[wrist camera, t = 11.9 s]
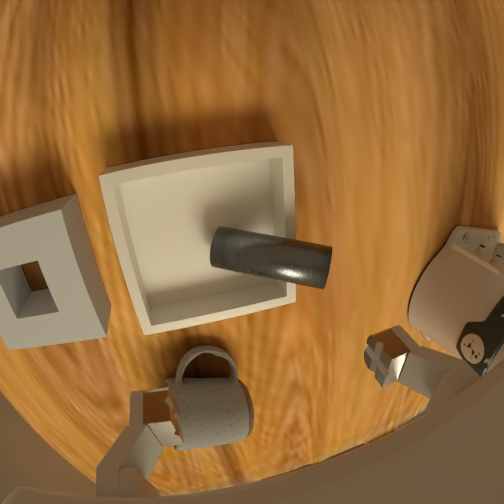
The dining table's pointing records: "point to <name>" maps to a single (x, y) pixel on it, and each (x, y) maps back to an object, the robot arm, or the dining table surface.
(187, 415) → the ceramic mug
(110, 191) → the tray
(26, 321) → the grey square socket block
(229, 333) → the dining table surface
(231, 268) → the pin
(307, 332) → the dining table surface
